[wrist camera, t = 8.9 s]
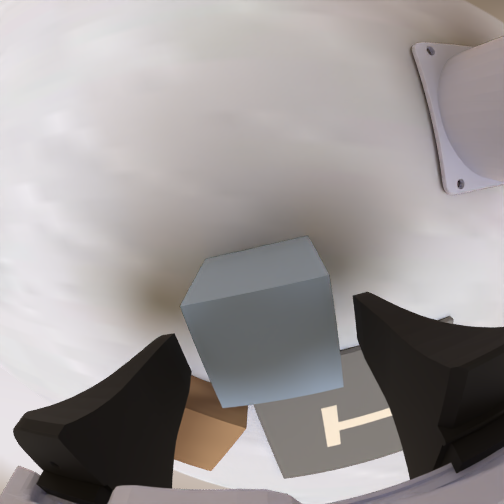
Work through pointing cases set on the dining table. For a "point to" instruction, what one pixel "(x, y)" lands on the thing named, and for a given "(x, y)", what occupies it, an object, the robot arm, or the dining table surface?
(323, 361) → the blue cube
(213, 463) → the walnut block
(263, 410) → the letter mat
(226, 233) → the dining table surface
